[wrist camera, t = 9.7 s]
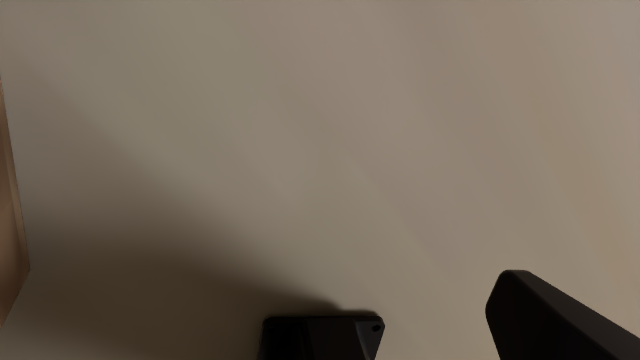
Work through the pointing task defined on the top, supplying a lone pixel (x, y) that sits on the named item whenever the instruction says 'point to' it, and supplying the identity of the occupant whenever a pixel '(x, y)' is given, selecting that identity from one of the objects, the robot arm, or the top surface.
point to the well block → (10, 224)
